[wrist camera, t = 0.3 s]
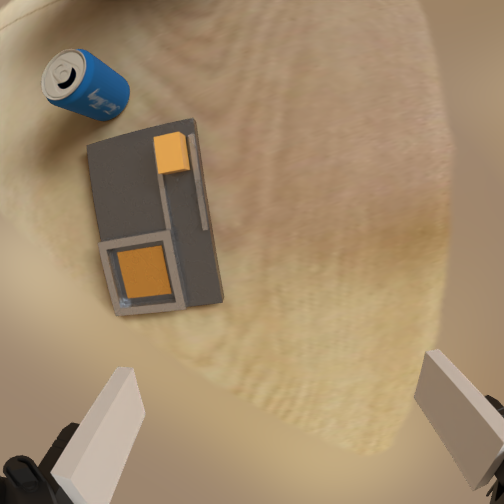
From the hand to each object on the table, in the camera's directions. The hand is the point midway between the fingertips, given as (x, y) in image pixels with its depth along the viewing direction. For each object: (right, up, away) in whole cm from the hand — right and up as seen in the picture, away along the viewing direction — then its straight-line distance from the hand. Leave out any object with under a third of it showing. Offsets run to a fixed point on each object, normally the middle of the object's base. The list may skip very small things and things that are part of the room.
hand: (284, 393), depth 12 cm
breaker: (-10, +17, +21) cm, 29 cm away
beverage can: (-20, +26, +22) cm, 39 cm away
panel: (-13, +10, +25) cm, 30 cm away
